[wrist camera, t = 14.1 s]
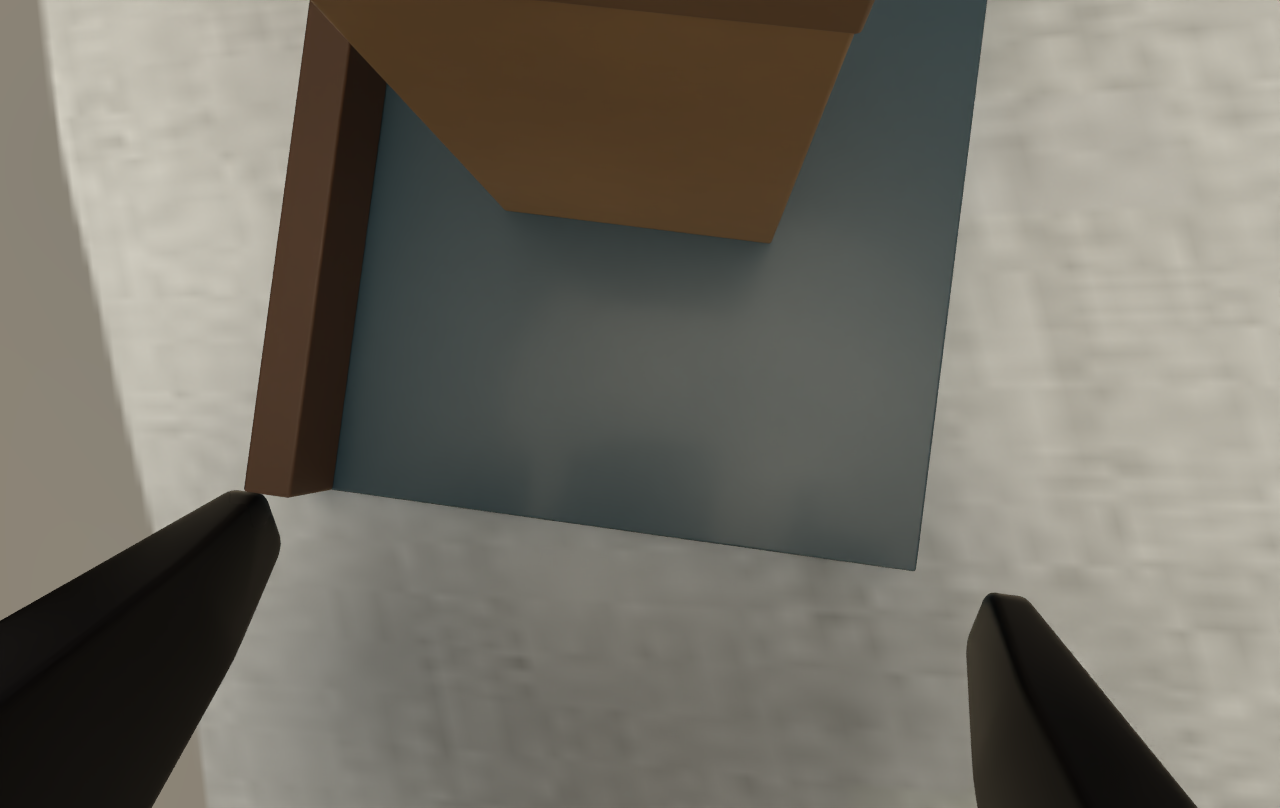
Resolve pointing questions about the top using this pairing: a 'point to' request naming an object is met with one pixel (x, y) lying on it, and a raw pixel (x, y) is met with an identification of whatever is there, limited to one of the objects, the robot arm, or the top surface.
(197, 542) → the robot arm
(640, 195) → the cardboard carton
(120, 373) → the top surface
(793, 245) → the board
